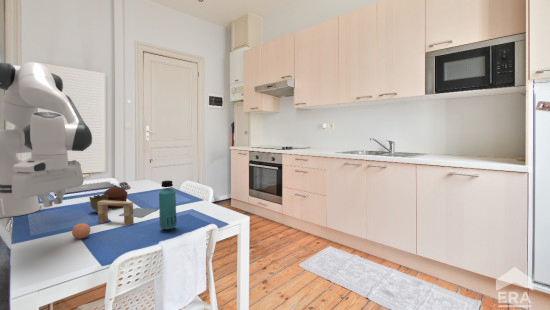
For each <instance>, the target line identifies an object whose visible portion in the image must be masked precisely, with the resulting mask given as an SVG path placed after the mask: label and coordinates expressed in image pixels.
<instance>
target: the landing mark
mask: <svg viewBox="0 0 550 310" xmlns="http://www.w3.org/2000/svg"><path fill="white" fill-rule="evenodd" d="M158 210H159V209H157V208H145V207H144V208H143V207H135V208H133V218H134V217H135V218H144V217H146V216H147V215H150V214H152V213H154V212H157V211H158ZM118 216H120V217H124V212H123V213H121V214H118Z"/></svg>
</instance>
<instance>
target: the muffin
mask: <svg viewBox="0 0 550 310" xmlns="http://www.w3.org/2000/svg"><path fill="white" fill-rule="evenodd" d="M102 195H103V196H104V195H107V196H108V200H112V201H126V202H127V200H128V199H127V198H128V191H127V190H126V189H125V188H123V187H121V186H114V187H109V188H107V189H106V190H105V191H104V192H103V194H102ZM107 207H108V210H116V209H117V210H119V209H122V208H124V206H112V205H107Z"/></svg>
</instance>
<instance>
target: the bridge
mask: <svg viewBox="0 0 550 310" xmlns="http://www.w3.org/2000/svg"><path fill="white" fill-rule="evenodd" d="M97 203H98V213H97V219H98V220H97V222H98V223H99V224H104V223H106V222H108V221H109V211H108V210H109V209H108V207H107V205H112V206H124V207H123V213H124V216H123V222H124V226H130V225H132V224H134V223H135V222H134V221H135V219H134V217H133V209H134V201H127V200H126V201H112V200H101V201H98V202H97Z"/></svg>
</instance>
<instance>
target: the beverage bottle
mask: <svg viewBox="0 0 550 310" xmlns="http://www.w3.org/2000/svg"><path fill="white" fill-rule="evenodd" d="M160 186H161V187H162V188H163V189H161V190H160V191H159V192H158V198H159V199H158V201H159V203H158V205H159V213H158V214H159V227H160V229H161V230H170V229H173V228H174V229H175V228H176V227H177V222H178V221H177V197H176V190H175V189H173V188H171V187H173V186H174V185H173V180H162V181H161V185H160Z"/></svg>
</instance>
